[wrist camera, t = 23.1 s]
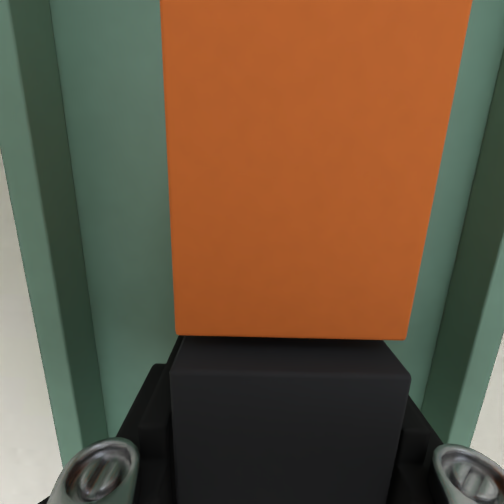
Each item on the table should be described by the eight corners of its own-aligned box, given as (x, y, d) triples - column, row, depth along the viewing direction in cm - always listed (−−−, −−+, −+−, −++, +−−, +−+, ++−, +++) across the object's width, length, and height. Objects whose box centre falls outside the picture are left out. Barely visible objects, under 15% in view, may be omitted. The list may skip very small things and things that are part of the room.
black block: (208, 275, 9) (168, 371, 5) (335, 278, 9) (414, 375, 5) (210, 428, 10) (181, 607, 6) (318, 430, 10) (365, 610, 6)
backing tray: (14, -133, 7) (-81, -257, 5) (552, -110, 7) (669, -221, 5) (102, 466, 12) (73, 524, 10) (414, 471, 12) (446, 529, 10)
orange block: (208, 45, 8) (151, -127, 3) (356, 51, 8) (498, -112, 3) (210, 260, 9) (174, 336, 5) (333, 263, 9) (407, 342, 5)
